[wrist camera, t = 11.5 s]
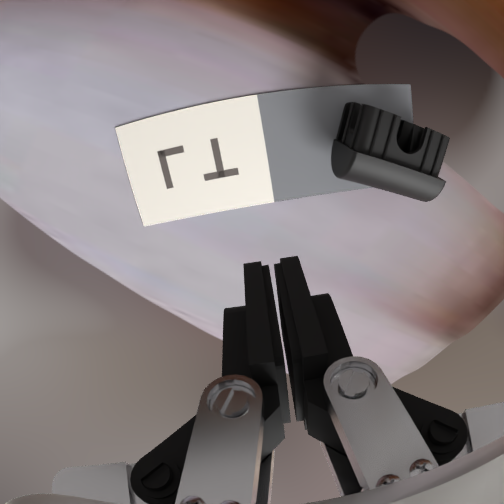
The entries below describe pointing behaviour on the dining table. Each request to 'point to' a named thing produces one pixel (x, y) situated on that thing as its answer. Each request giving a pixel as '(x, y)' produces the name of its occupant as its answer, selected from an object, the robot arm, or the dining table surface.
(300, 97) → the mat
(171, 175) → the board
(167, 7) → the dining table surface
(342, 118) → the end cap
